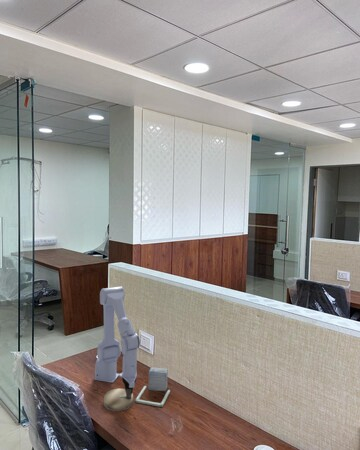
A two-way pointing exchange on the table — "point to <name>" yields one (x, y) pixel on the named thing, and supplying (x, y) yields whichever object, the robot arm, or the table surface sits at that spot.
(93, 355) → the table surface
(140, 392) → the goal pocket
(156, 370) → the medicine box
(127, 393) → the disc
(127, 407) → the base plate
